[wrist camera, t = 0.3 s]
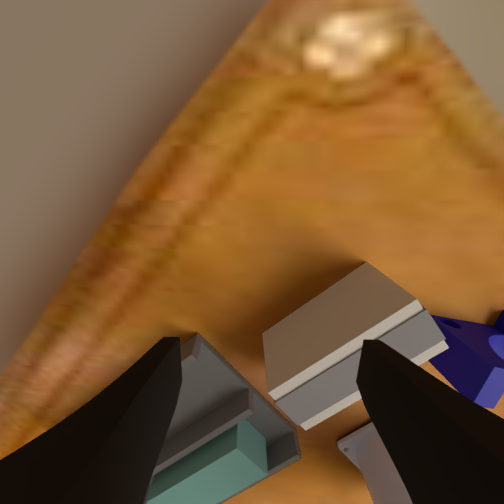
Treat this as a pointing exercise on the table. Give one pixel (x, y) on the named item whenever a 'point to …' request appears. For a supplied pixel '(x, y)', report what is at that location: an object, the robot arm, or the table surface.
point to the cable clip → (473, 358)
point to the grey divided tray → (221, 411)
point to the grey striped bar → (342, 343)
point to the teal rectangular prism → (213, 469)
